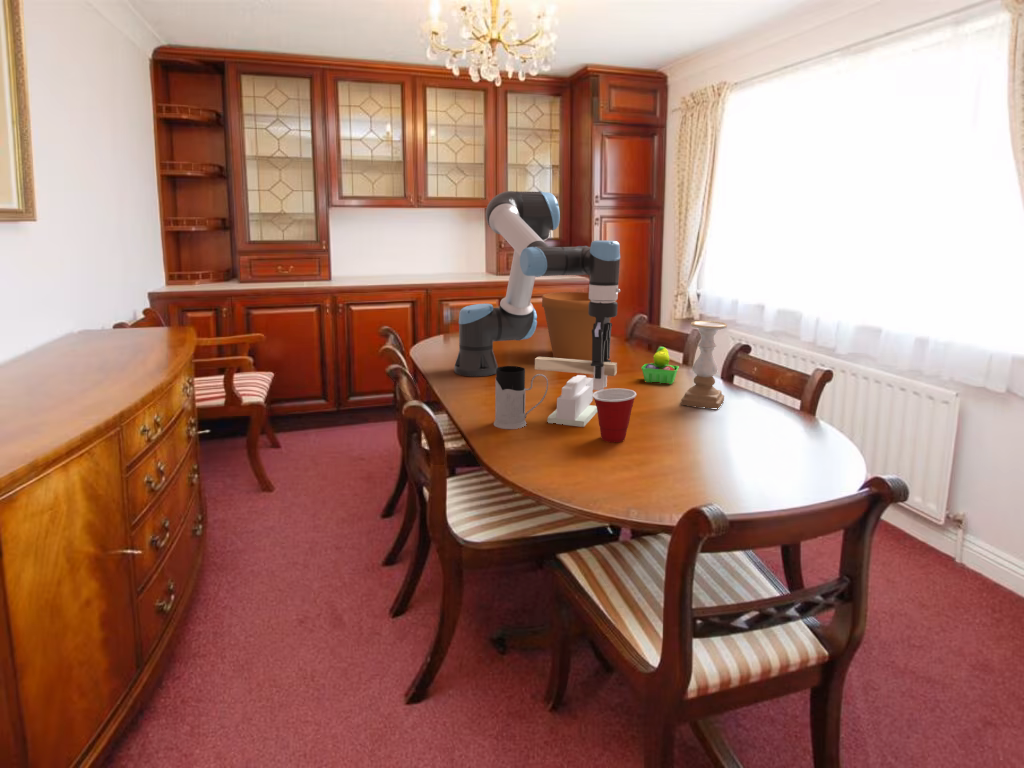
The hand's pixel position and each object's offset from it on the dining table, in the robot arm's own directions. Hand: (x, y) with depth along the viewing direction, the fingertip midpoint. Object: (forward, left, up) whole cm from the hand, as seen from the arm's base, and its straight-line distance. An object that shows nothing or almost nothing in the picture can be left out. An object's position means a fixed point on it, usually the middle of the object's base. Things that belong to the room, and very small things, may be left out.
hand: (599, 388), depth 186 cm
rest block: (-14, -9, -9) cm, 19 cm away
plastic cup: (+15, +7, -9) cm, 19 cm away
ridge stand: (0, -7, -9) cm, 11 cm away
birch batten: (0, -7, +4) cm, 8 cm away
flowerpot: (-79, -27, -9) cm, 84 cm away
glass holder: (+12, -18, -9) cm, 24 cm away
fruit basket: (-51, +9, -9) cm, 53 cm away
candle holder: (-28, +25, -9) cm, 39 cm away
